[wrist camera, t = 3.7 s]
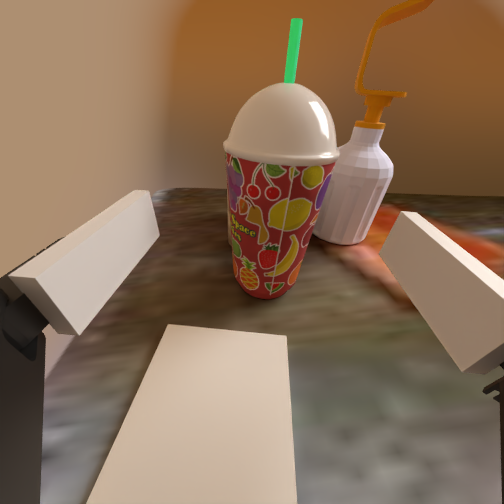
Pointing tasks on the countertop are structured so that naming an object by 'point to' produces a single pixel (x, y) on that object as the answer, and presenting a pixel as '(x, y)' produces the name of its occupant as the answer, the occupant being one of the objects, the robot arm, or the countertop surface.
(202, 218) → the countertop surface
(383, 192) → the soap bottle
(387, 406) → the countertop surface
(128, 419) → the plate
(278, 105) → the smoothie
